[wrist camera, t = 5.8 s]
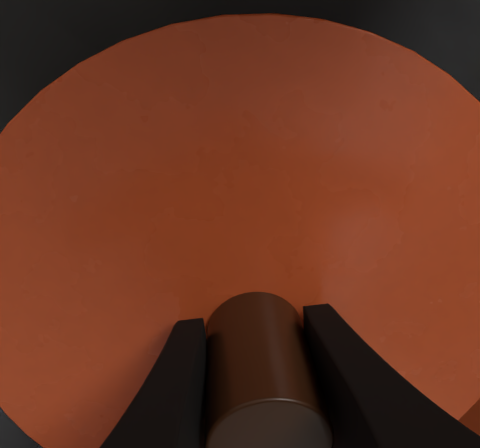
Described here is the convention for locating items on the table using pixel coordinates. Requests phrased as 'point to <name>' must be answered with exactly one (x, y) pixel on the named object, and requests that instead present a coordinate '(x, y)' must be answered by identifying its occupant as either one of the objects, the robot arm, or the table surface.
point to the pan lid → (237, 225)
